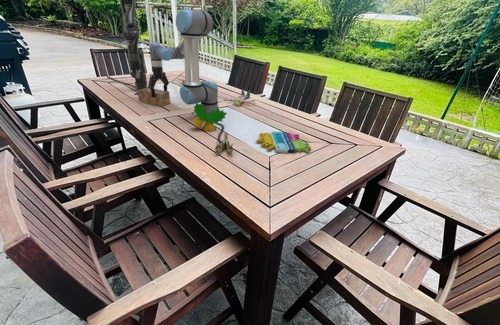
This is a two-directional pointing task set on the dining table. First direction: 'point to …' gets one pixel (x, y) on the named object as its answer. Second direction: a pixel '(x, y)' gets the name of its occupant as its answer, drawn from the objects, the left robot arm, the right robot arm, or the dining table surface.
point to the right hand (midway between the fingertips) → (159, 95)
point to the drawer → (138, 95)
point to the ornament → (207, 117)
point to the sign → (283, 142)
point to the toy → (241, 99)
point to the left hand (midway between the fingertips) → (137, 83)
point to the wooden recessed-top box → (160, 97)
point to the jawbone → (224, 145)
